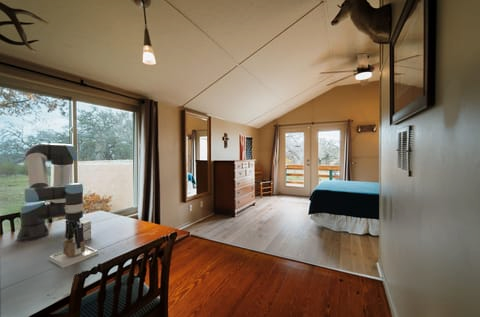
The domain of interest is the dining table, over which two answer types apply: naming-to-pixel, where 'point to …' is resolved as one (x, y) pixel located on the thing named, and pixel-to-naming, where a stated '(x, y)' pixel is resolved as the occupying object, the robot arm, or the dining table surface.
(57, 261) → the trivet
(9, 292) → the dining table surface
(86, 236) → the ink box
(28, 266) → the dining table surface
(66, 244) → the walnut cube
